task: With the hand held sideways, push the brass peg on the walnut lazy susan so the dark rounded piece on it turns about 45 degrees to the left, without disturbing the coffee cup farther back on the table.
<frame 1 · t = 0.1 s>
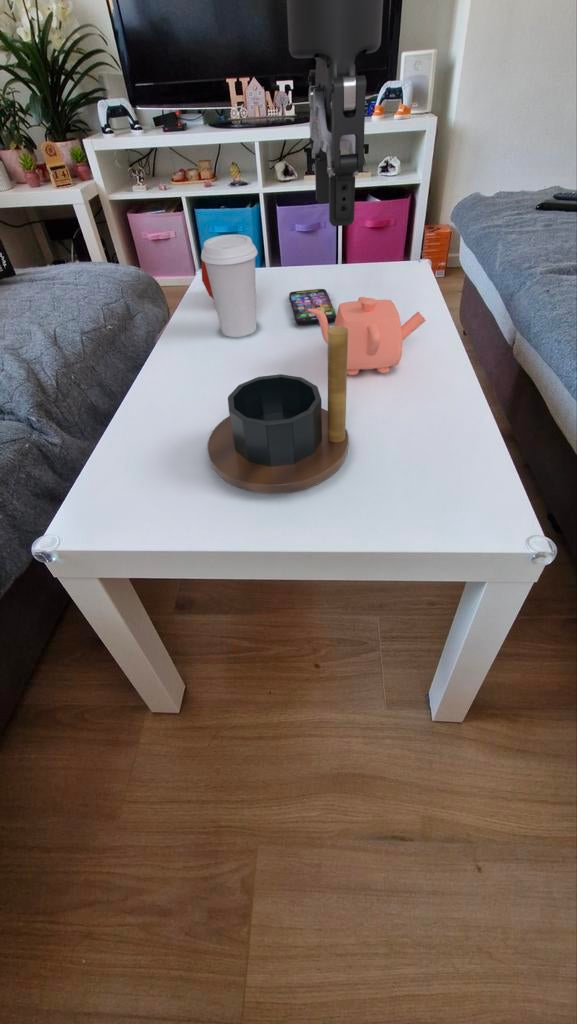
hand: (333, 212, 49), 26 cm above the table, tool pointing down, fingers open, 8 cm apart
apple: (230, 302, 102), on the table
teapot: (364, 364, 80), on the table
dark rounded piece: (273, 395, 59), point 8 cm above the table, hinge at 0.0°
smartphone: (311, 310, 97), on the table
coffee cup: (239, 330, 92), on the table
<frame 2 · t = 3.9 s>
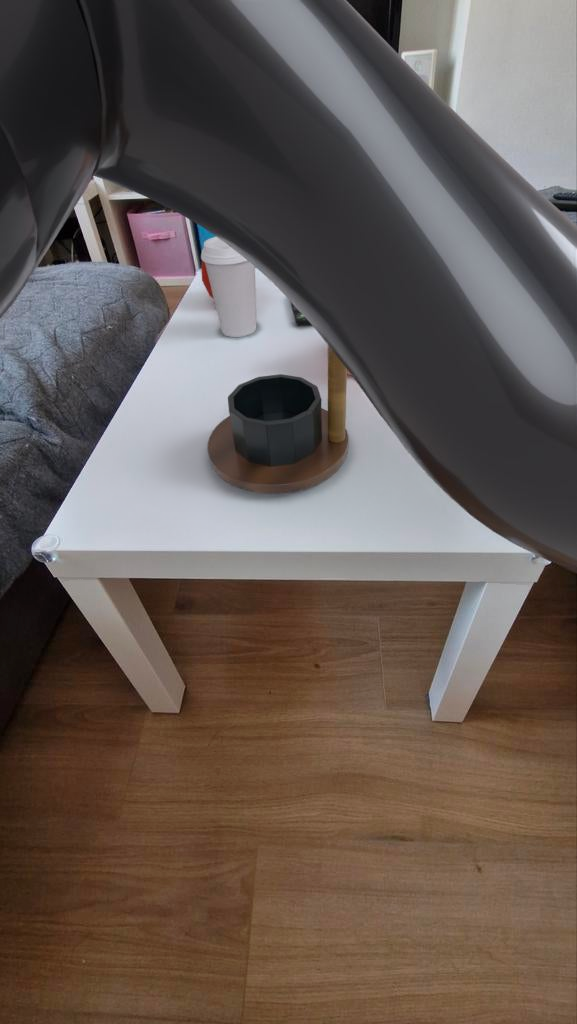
hand: (388, 283, 40), 24 cm above the table, tool horizontal, fingers closed
nothing on the table moved.
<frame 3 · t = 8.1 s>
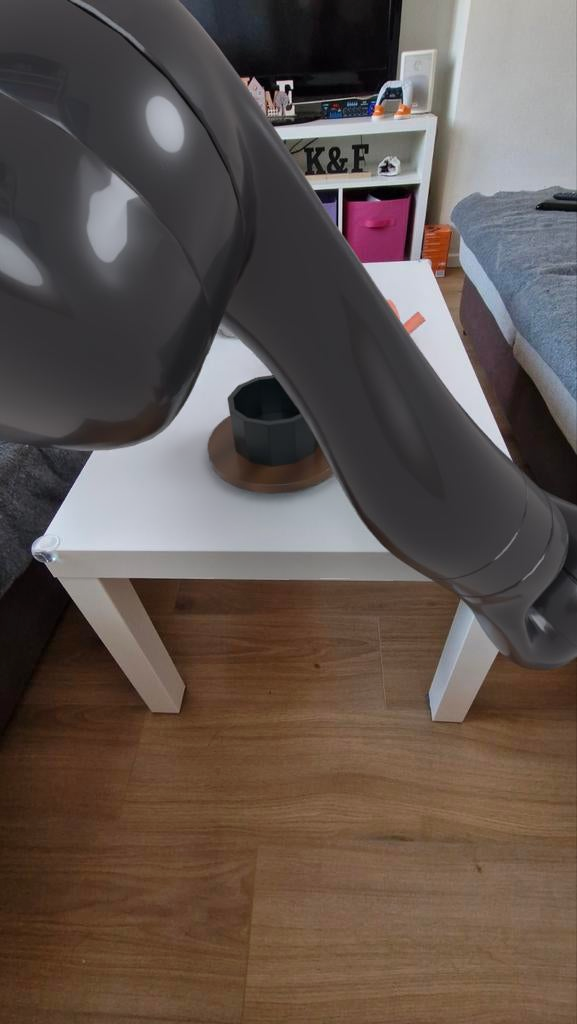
hand: (341, 360, 54), 13 cm above the table, tool horizontal, fingers closed
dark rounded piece: (273, 395, 59), point 8 cm above the table, hinge at 1.9°, touching gripper
everything else where it was.
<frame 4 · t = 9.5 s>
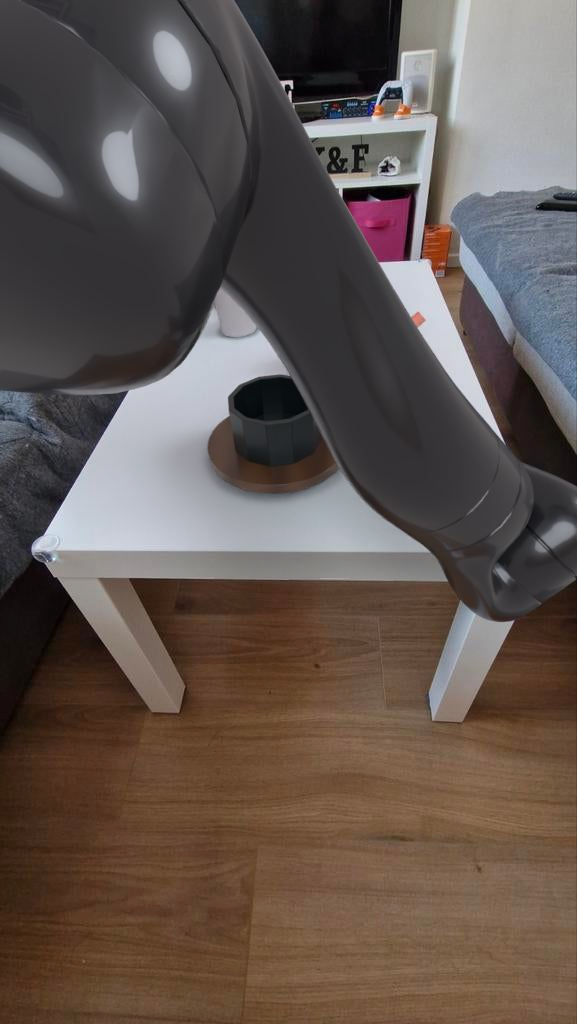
hand: (336, 345, 57), 13 cm above the table, tool horizontal, fingers closed
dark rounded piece: (273, 395, 59), point 8 cm above the table, hinge at 29.6°, touching gripper
everything else where it was.
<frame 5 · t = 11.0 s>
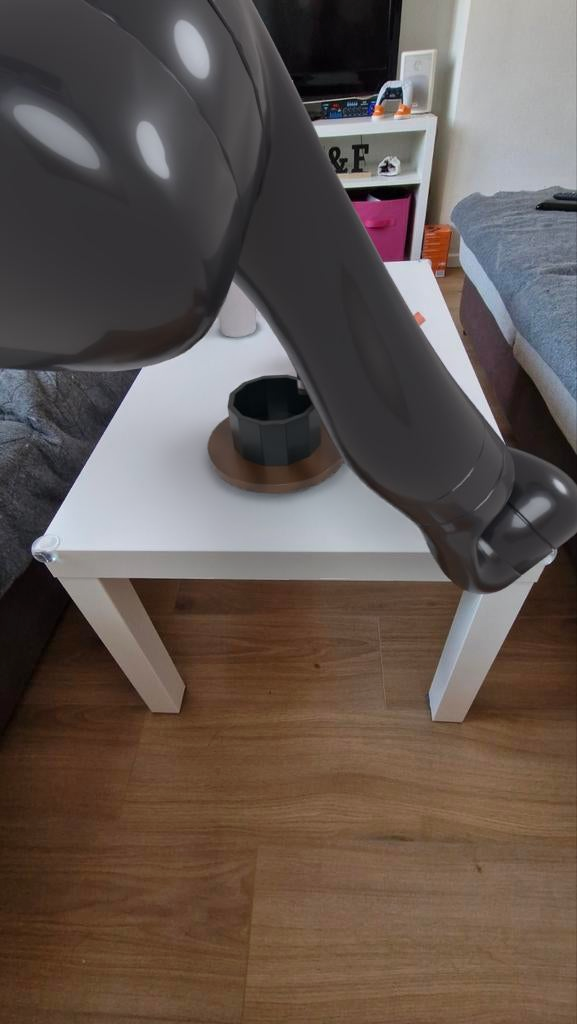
hand: (319, 337, 58), 13 cm above the table, tool horizontal, fingers closed
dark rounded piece: (273, 395, 59), point 8 cm above the table, hinge at 52.2°
everything else where it was.
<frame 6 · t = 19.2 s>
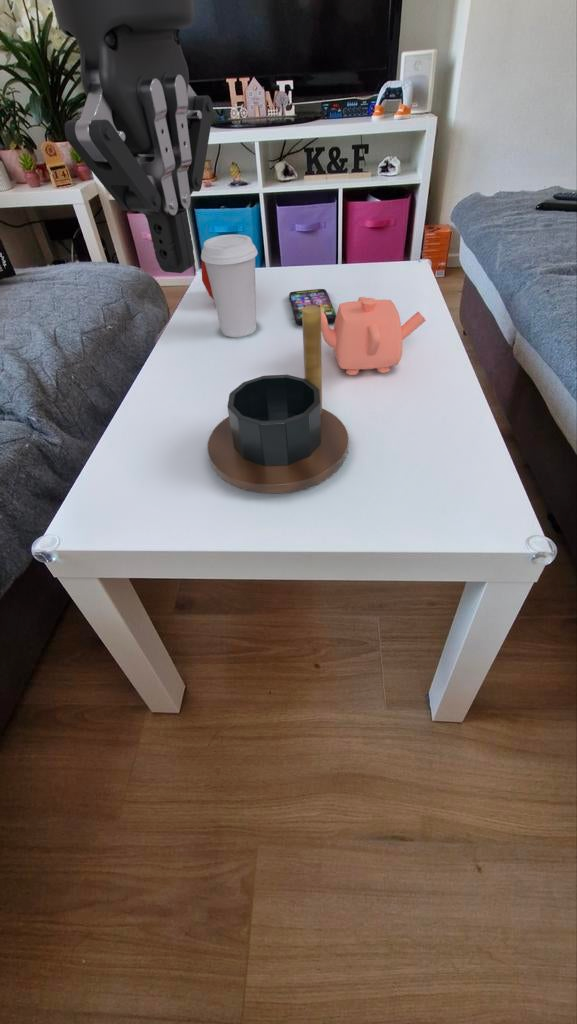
hand: (178, 269, 37), 27 cm above the table, tool pointing down, fingers closed
nothing on the table moved.
at the end: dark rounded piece at +52° (first picture: +0°); coffee cup moved 0.2 cm from its start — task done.
